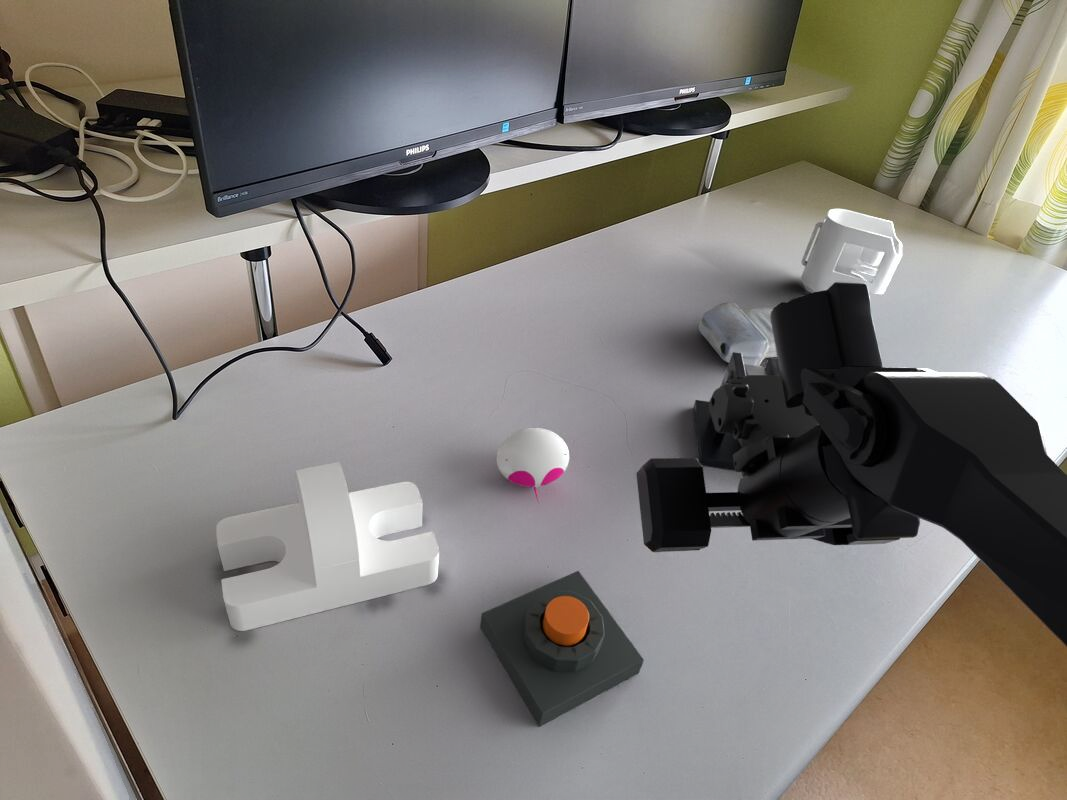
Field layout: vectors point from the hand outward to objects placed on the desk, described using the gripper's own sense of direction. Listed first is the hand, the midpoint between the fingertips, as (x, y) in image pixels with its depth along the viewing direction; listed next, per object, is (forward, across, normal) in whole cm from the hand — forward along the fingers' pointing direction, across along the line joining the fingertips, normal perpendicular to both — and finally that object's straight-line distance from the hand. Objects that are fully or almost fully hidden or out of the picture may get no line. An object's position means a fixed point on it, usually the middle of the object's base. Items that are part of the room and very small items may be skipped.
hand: (724, 523), depth 62 cm
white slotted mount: (+14, +32, 0) cm, 35 cm away
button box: (+10, +12, +9) cm, 18 cm away
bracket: (+22, -12, -14) cm, 28 cm away
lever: (+10, -10, -12) cm, 18 cm away
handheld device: (+31, -24, -30) cm, 49 cm away
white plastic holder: (+37, -40, -41) cm, 68 cm away
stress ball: (+19, +12, -8) cm, 24 cm away
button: (+6, +12, +7) cm, 16 cm away
